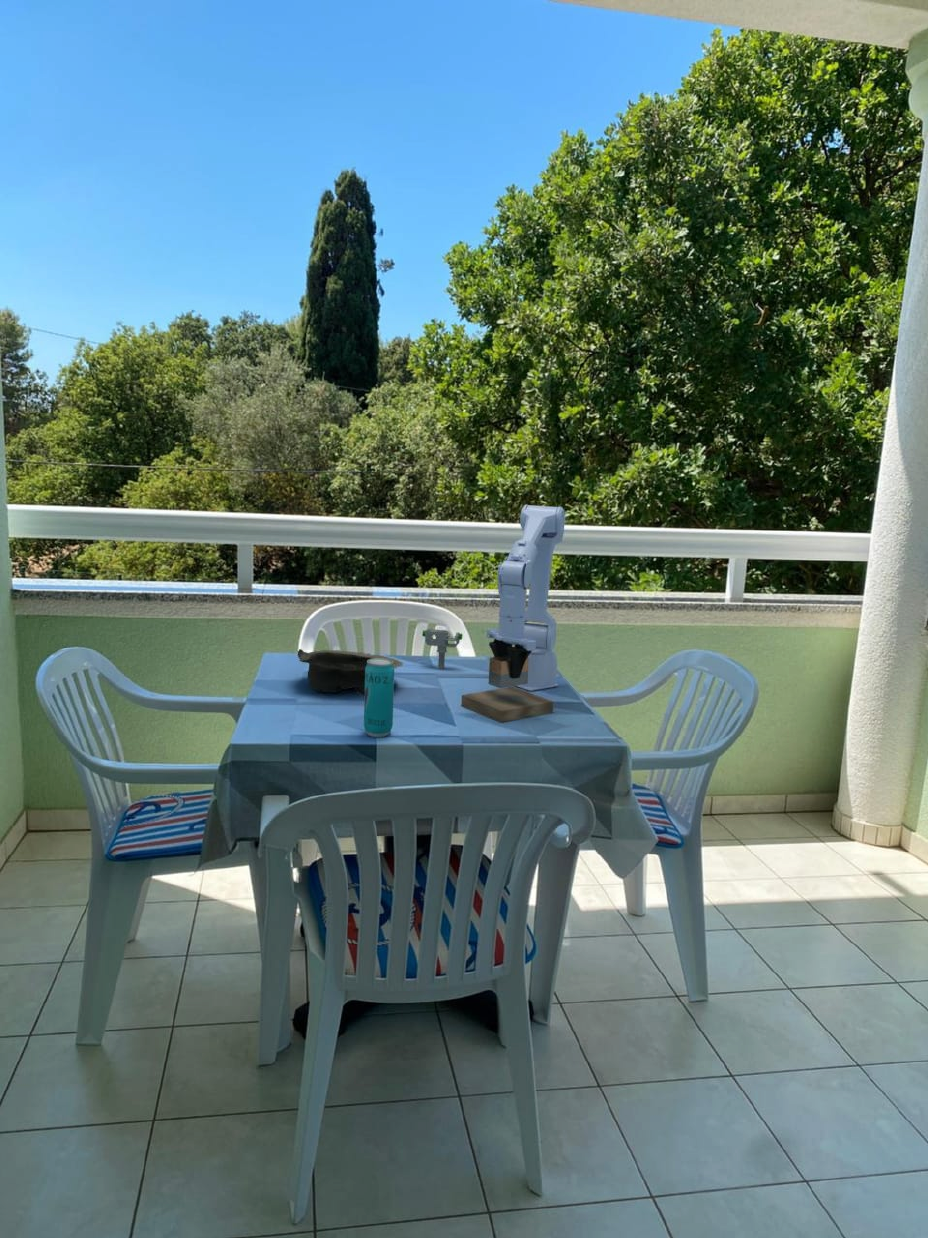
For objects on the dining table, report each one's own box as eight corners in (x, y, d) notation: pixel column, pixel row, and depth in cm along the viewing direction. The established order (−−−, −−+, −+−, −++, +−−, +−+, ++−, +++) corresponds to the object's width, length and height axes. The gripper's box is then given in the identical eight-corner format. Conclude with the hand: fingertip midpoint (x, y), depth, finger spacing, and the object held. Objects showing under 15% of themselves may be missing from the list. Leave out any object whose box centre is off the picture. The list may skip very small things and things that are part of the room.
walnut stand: (512, 696, 213) (512, 686, 213) (552, 712, 203) (553, 701, 202) (461, 705, 204) (461, 695, 204) (501, 722, 193) (501, 711, 193)
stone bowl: (289, 699, 203) (290, 658, 202) (305, 678, 228) (305, 641, 227) (400, 701, 204) (401, 660, 203) (404, 680, 229) (404, 643, 228)
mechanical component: (459, 671, 234) (460, 634, 232) (420, 668, 236) (421, 630, 234) (461, 669, 237) (463, 631, 235) (423, 665, 238) (424, 628, 236)
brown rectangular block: (515, 679, 206) (517, 653, 205) (527, 683, 203) (529, 657, 202) (488, 684, 201) (489, 657, 200) (500, 688, 198) (501, 661, 197)
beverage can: (364, 728, 185) (365, 657, 182) (392, 729, 186) (394, 658, 183) (363, 738, 180) (365, 664, 177) (392, 738, 180) (394, 665, 177)
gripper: (477, 611, 202) (474, 670, 205) (520, 623, 191) (516, 685, 194) (501, 608, 207) (498, 666, 209) (544, 620, 195) (540, 681, 198)
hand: (508, 675), depth 202 cm, fingers closed on brown rectangular block, 4 cm apart
